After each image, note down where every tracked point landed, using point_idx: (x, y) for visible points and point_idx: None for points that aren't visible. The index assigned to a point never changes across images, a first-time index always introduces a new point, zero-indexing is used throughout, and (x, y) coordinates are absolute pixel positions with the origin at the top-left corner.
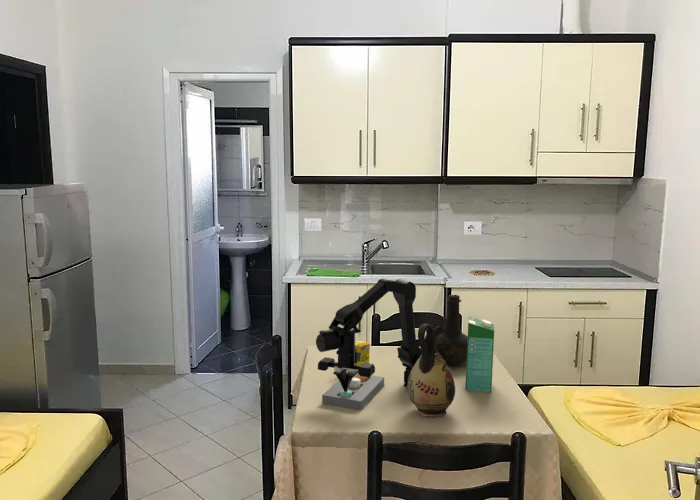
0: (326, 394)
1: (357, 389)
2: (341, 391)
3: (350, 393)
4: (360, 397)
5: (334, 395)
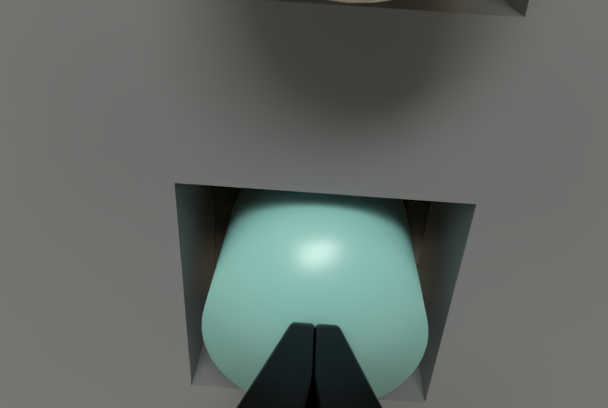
0: (41, 388)
1: (496, 40)
2: (233, 350)
3: (413, 363)
4: (595, 364)
5: (168, 391)
